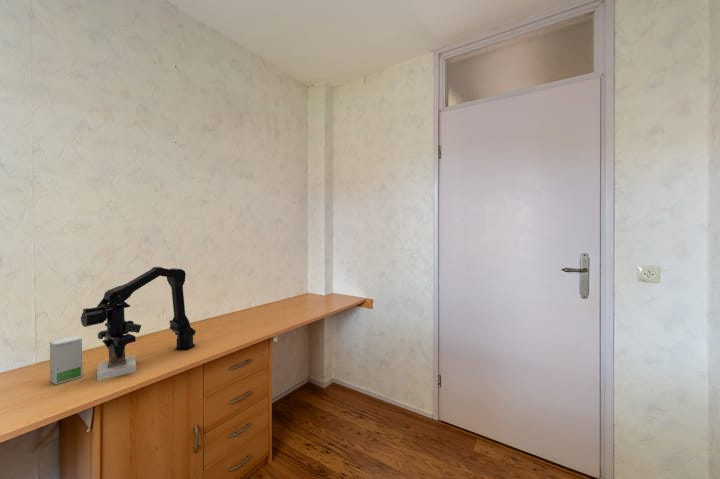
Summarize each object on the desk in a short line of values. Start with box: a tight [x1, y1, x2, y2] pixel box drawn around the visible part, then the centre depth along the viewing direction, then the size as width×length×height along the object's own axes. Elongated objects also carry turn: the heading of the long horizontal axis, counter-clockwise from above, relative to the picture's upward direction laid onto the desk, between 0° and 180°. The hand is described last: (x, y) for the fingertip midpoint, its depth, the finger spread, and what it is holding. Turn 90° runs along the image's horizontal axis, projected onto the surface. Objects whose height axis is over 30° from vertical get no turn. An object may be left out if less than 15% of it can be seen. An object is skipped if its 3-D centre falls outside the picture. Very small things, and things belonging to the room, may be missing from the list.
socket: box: [96, 354, 137, 382], centre depth 124 cm, size 12×12×3 cm
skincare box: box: [49, 335, 83, 386], centre depth 118 cm, size 8×7×16 cm
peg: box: [108, 346, 126, 365], centre depth 124 cm, size 4×4×7 cm
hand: (117, 357), depth 124 cm, fingers closed on peg, 4 cm apart
